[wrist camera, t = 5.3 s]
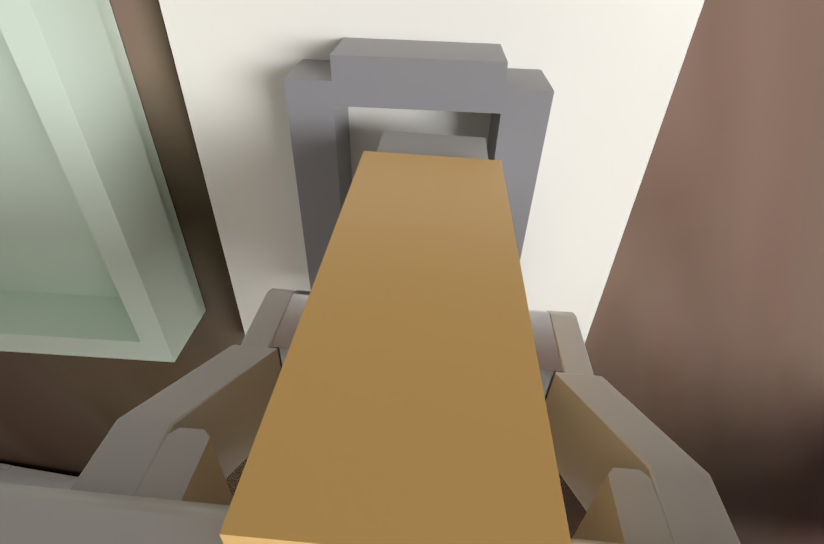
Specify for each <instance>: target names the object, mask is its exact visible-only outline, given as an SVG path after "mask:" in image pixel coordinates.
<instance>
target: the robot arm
mask: <svg viewBox="0 0 824 544" xmlns="http://www.w3.org/2000/svg"><path fill="white" fill-rule="evenodd" d="M310 292H311V291H301V290H296V291H295V290H287V289H277V288H272V289H270V290H269V291H268V292H267V293H266V295H265V297H264V299H263V301H262V303H261V305H260V307H259V309H258V311H257V313H256V315H255V317H254V319H253V321H252V323H251V325H250V327H249V329H248V331H247V333H246V335H245V337H244V339H243V341H242V343H241V345H232V346H230V347H229V348H227V349H225V350H224V351H222V352H221V353H219V354H218V355H216V356H215V357H213V358H212V359H210V360H208V361H207V362H205V363H204V364H202V365H201V366H199V367H198V368H196V369H194V370H193V371H191V372H190V373H188V374H187V375H185V376H184V377H182V378H180V379H179V380H177V381H176V382H174V383H173V384H171V385H170V386H168V387H166V388H165V389H163V390H162V391H160V392H159V393H157V394H156V395H154V396H153V397H151V398H149V399H148V400H146V401H145V402H143V403H142V404H140V405H139V406H137V407H135V408H134V409H132V410H131V411H129V412H128V413H126V414H125V415H123V416H121V417H120V418H118V419H117V420H116V422H115V423H114V425H113V426H112V428H111V429H110V431H109V432H108V434H107V435H106V437H105V438H104V440H103V441H102V443H101V444H100V446H99V447H98V449H97V450H96V452H95V453H94V455H93V456H92V458H91V459H90V461H89V462H88V464H87V465H86V466H85V468H84V469H83V471H82V472H81V474H80V475H79V477H78V478H77V480H76V481H75V483H74V484H73V486H72V487H71V489H70V490H67V489H57V488H46V487H36V486H26V485H16V484H6V483H0V544H223V541H222V539H221V537H220V535H219V533H220V531H221V528H222V525H223V523H224V520H225V517H226V515H227V512H228V510H229V507H230V504H231V502H232V499H233V497H232V495H231V492H230V489H229V487H228V484H227V481H226V478H227V477H228V476H229V475H230V474H231V473H232V472H233V471H234V470H235V469H236V468H237V467H238V466H239V465H240V464H241V463H242V462H243V461H244V460H245V459H246V458H247V457H248V456H249V454H250V451H251V448H252V446H253V443H254V440H255V438H256V435H257V433H258V430H259V427H260V425H261V422H262V419H263V417H264V414H265V411H266V409H267V406H268V403H269V401H270V398H271V395H272V393H273V390H274V387H275V385H276V382H277V379H278V377H279V374H280V371H281V369H282V366H283V363H284V361H285V358H286V356H287V353H288V350H289V348H290V345H291V342H292V340H293V337H294V334H295V332H296V329H297V326H298V324H299V321H300V318H301V316H302V313H303V310H304V308H305V305H306V302H307V300H308V297H309V294H310ZM529 314H530V320H531V325H532V331H533V336H534V342H535V347H536V353H537V358H538V364H539V369H540V374H541V380H542V385H543V391H544V396H545V402H546V407H547V413H548V418H549V424H550V429H551V435H552V440H553V446H554V451H555V457H556V462H557V467H558V472H559V473H560V475H561V476H562V478H563V479H564V480H565V482H566V483H567V485H568V486H569V488H570V489H571V490H572V492H573V493H574V495H575V496H576V498H577V499H578V500H579V502H580V503H581V505H582V506H583V508H584V509H585V510H586V514H585V516H584V518H583V519H582V521H581V523H580V525H579V527H578V528H577V530H576V532H575V534H574V535H573V537H572V539H571V538H570V539H571V544H741V543H740V541H739V539H738V537H737V534H736V532H735V530H734V528H733V525H732V523H731V521H730V519H729V516H728V514H727V512H726V510H725V507H724V505H723V503H722V501H721V498H720V496H719V494H718V492H717V489H716V487H715V485H714V483H713V481H712V478H711V476H710V474H709V473H708V472H706V471H705V470H704V469H703V468H702V467H701V466H700V465H699V464H698V463H697V462H696V461H694V460H693V459H692V458H691V457H690V456H689V455H688V454H687V453H686V452H685V451H683V450H682V449H681V448H680V447H679V446H678V445H677V444H676V443H675V442H674V441H672V440H671V439H670V438H669V437H668V436H667V435H666V434H665V433H664V432H663V431H662V430H660V429H659V428H658V427H657V426H656V425H655V424H654V423H653V422H652V421H651V420H649V419H648V418H647V417H646V416H645V415H644V414H643V413H642V412H641V411H640V410H638V409H637V408H636V407H635V406H634V405H633V404H632V403H631V402H630V401H629V400H628V399H626V398H625V397H624V396H623V395H622V394H621V393H620V392H619V391H618V390H617V389H615V388H614V387H613V386H612V385H611V384H610V383H609V382H608V381H607V380H606V379H605V378H603V377H602V376H595V375H594V374H593V370H592V367H591V364H590V360H589V357H588V354H587V350H586V347H585V344H584V340H583V337H582V334H581V330H580V327H579V324H578V320H577V317H576V315H575V314H574V313H573V312H561V311H539V310H529Z"/></svg>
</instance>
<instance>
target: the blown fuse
mask: <svg viewBox="0 0 824 544" xmlns="http://www.w3.org/2000/svg"><path fill="white" fill-rule="evenodd" d="M219 535H220V537H221V539H222V541H223V544H571V539H570V533H569V528H568V522H567V517H566V511H565V506H564V500H563V495H562V489H561V484H560V478H559V473H558V467H557V462H556V457H555V451H554V446H553V440H552V435H551V429H550V424H549V418H548V413H547V407H546V402H545V396H544V391H543V385H542V380H541V374H540V369H539V364H538V358H537V353H536V347H535V342H534V336H533V331H532V325H531V320H530V314H529V309H528V303H527V298H526V292H525V287H524V281H523V276H522V271H521V265H520V260H519V254H518V249H517V243H516V238H515V232H514V227H513V221H512V216H511V210H510V205H509V199H508V194H507V189H506V183H505V178H504V172H503V167H502V161H501V160H488V153H487V145H486V138H483V137H468V136H453V135H439V134H424V133H409V132H394V131H383V134H382V137H381V140H380V143H379V147H378V150H377V152H372V151H363V154H362V156H361V159H360V162H359V164H358V167H357V170H356V172H355V175H354V178H353V180H352V183H351V186H350V188H349V191H348V194H347V196H346V199H345V202H344V204H343V207H342V209H341V212H340V215H339V217H338V220H337V223H336V225H335V228H334V231H333V233H332V236H331V239H330V241H329V244H328V247H327V249H326V252H325V255H324V257H323V260H322V263H321V265H320V268H319V271H318V273H317V276H316V279H315V281H314V284H313V286H312V289H311V292H310V294H309V297H308V300H307V302H306V305H305V308H304V310H303V313H302V316H301V318H300V321H299V324H298V326H297V329H296V332H295V334H294V337H293V340H292V342H291V345H290V348H289V350H288V353H287V356H286V358H285V361H284V363H283V366H282V369H281V371H280V374H279V377H278V379H277V382H276V385H275V387H274V390H273V393H272V395H271V398H270V401H269V403H268V406H267V409H266V411H265V414H264V417H263V419H262V422H261V425H260V427H259V430H258V433H257V435H256V438H255V440H254V443H253V446H252V448H251V451H250V454H249V456H248V459H247V462H246V464H245V467H244V470H243V472H242V475H241V478H240V480H239V483H238V486H237V488H236V491H235V494H234V496H233V499H232V502H231V504H230V507H229V510H228V512H227V515H226V517H225V520H224V523H223V525H222V528H221V531H220V533H219Z"/></svg>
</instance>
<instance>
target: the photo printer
mask: <svg viewBox="0 0 824 544" xmlns="http://www.w3.org/2000/svg"><path fill="white" fill-rule="evenodd" d="M77 478H78V477H76V476H70V475H64V474H58V473H53V472H47V471H41V470H35V469H29V468H23V467H18V466H12V465H8V464H2V463H0V483H6V484H16V485H26V486H36V487H46V488H57V489H67V490H70V489H71V487H72V486H73V484H74V483H75V481H76V480H77Z"/></svg>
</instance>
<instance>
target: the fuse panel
mask: <svg viewBox="0 0 824 544" xmlns="http://www.w3.org/2000/svg"><path fill="white" fill-rule="evenodd" d="M159 3H160V7H161V11H162V15H163V19H164V23H165V26H166V30H167V34H168V38H169V42H170V46H171V50H172V54H173V57H174V61H175V65H176V69H177V73H178V77H179V81H180V85H181V88H182V92H183V96H184V100H185V104H186V108H187V112H188V116H189V119H190V123H191V127H192V131H193V135H194V139H195V143H196V147H197V150H198V154H199V158H200V162H201V166H202V170H203V174H204V178H205V181H206V185H207V189H208V193H209V197H210V201H211V205H212V209H213V213H214V216H215V220H216V224H217V228H218V232H219V236H220V240H221V244H222V247H223V251H224V255H225V259H226V263H227V267H228V271H229V275H230V278H231V282H232V286H233V290H234V294H235V298H236V302H237V306H238V309H239V313H240V317H241V321H242V325H243V329H244V333H245V335H246V333H247V331H248V329H249V327H250V325H251V323H252V321H253V319H254V317H255V315H256V313H257V311H258V309H259V307H260V305H261V303H262V301H263V299H264V297H265V295H266V293H267V292H268V291H269V290H270V289H272V288H277V289H287V290H295V291H296V290H301V291H311V289H312V286H313V284H314V281H315V279H316V276H317V273H318V271H319V268H320V265H321V263H322V260H323V257H324V255H325V252H326V249H327V247H328V244H329V241H330V239H331V236H332V233H333V231H334V228H335V225H336V223H337V220H338V217H339V215H340V212H341V209H342V207H343V204H344V202H345V199H346V196H347V194H348V191H349V188H350V186H351V183H352V180H353V178H354V175H355V172H356V170H357V167H358V164H359V162H360V159H361V156H362V154H363V151H372V152H377V150H378V147H379V143H380V140H381V137H382V134H383V131H394V132H409V133H424V134H439V135H453V136H468V137H483V138H486V145H487V153H488V160H501V161H502V167H503V172H504V178H505V183H506V189H507V194H508V199H509V205H510V210H511V216H512V221H513V227H514V232H515V238H516V243H517V249H518V254H519V260H520V265H521V271H522V276H523V281H524V287H525V292H526V298H527V303H528V309H529V310H539V311H561V312H573V313H574V314H575V315H576V317H577V320H578V324H579V327H580V330H581V334H582V337H583V340H584V344H585V341H586V338H587V335H588V332H589V329H590V327H591V324H592V321H593V318H594V315H595V312H596V309H597V307H598V304H599V301H600V298H601V295H602V292H603V289H604V286H605V284H606V281H607V278H608V275H609V272H610V269H611V266H612V264H613V261H614V258H615V255H616V252H617V249H618V246H619V244H620V241H621V238H622V235H623V232H624V229H625V226H626V224H627V221H628V218H629V215H630V212H631V209H632V206H633V203H634V201H635V198H636V195H637V192H638V189H639V186H640V183H641V181H642V178H643V175H644V172H645V169H646V166H647V163H648V161H649V158H650V155H651V152H652V149H653V146H654V143H655V141H656V138H657V135H658V132H659V129H660V126H661V123H662V120H663V118H664V115H665V112H666V109H667V106H668V103H669V100H670V98H671V95H672V92H673V89H674V86H675V83H676V80H677V78H678V75H679V72H680V69H681V66H682V63H683V60H684V58H685V55H686V52H687V49H688V46H689V43H690V40H691V37H692V35H693V32H694V29H695V26H696V23H697V20H698V17H699V15H700V12H701V9H702V6H703V3H704V0H159Z"/></svg>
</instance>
